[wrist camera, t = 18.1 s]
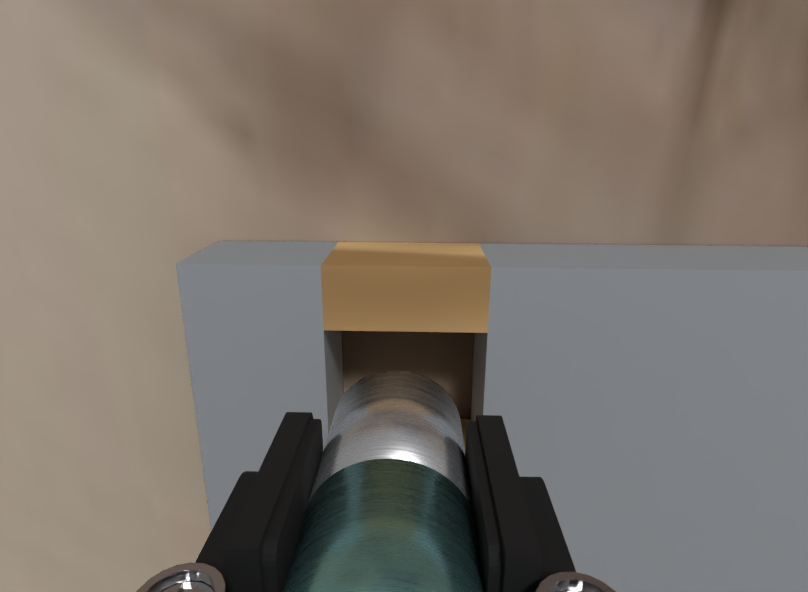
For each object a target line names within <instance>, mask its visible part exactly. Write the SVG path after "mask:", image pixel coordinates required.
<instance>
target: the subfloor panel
mask: <svg viewBox="0 0 808 592" xmlns="http://www.w3.org/2000/svg"><path fill="white" fill-rule="evenodd" d="M176 268H177V276H178V283H179V291H180V298H181V306H182V313H183V321H184V328H185V336H186V343H187V351H188V358H189V366H190V373H191V381H192V388H193V396H194V403H195V411H196V418H197V426H198V433H199V441H200V448H201V456H202V463H203V471H204V478H205V486H206V493H207V501H208V508H209V516H210V523H211V531H212V529H213V527H214V525H215V523H216V521H217V519H218V517H219V516H220V514H221V512H222V510H223V508H224V506H225V504H226V502H227V500H228V498H229V496H230V494H231V492H232V490H233V488H234V486H235V484H236V483H237V481H238V479H239V477H240V475H241V474H242V473H243V472H245V471H259V469H260V467H261V465H262V463H263V460H264V458H265V456H266V454H267V452H268V450H269V448H270V445H271V443H272V441H273V439H274V437H275V435H276V433H277V430H278V428H279V426H280V424H281V422H282V420H283V418H284V416H285V414H286V412H312V414H313V419H321V422H322V437H323V451H324V448H325V444H326V441H327V438H328V434H329V431H330V427H331V424H332V421H333V417H334V414H335V411H336V408H337V405H338V403H339V401H340V399H341V398H342V397H343V395H344V385H343V357H342V331H400V332H466V333H475V338H474V359H473V380H472V401H471V419H460V421H461V427H462V434H463V441H464V448H465V445H466V425H467V422H475V420H476V415H501V416H502V418H503V421H504V425H505V428H506V432H507V435H508V439H509V442H510V446H511V449H512V453H513V456H514V459H515V463H516V466H517V470H518V473H519V477H541V478H542V479H543V481H544V483H545V485H546V488H547V491H548V494H549V496H550V499H551V502H552V505H553V508H554V511H555V513H556V516H557V519H558V522H559V525H560V527H561V530H562V533H563V536H564V539H565V542H566V544H567V547H568V550H569V553H570V556H571V558H572V561H573V564H574V567H575V570H576V572H578V573H582V574H586V575H590V576H592V577H594V578H596V579H598V580H600V581H603V582H604V583H605V584H607V585H608V586H609V587H611V588H612V589H613V590H615V591H616V592H808V247H790V246H688V245H586V244H484V243H382V242H280V241H218V242H216V243H214V244H212V245H210V246H208V247H207V248H205V249H203V250H201V251H199V252H197V253H195V254H193V255H192V256H190V257H188V258H186V259H184V260H182V261H180V262H178V263H177V264H176Z"/></svg>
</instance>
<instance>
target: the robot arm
mask: <svg viewBox="0 0 808 592" xmlns="http://www.w3.org/2000/svg"><path fill="white" fill-rule="evenodd" d="M322 455H323V437H322V422H321V419H313V414H312V412H286V414H285V416H284V418H283V420H282V422H281V424H280V426H279V428H278V430H277V433H276V435H275V437H274V439H273V441H272V443H271V445H270V448H269V450H268V452H267V454H266V456H265V458H264V460H263V463H262V465H261V467H260V469H259V471H245V472H243V473H242V474H241V475H240V477H239V479H238V481H237V483H236V484H235V486H234V488H233V490H232V492H231V494H230V496H229V498H228V500H227V502H226V504H225V506H224V508H223V510H222V512H221V514H220V516H219V517H218V519H217V521H216V523H215V525H214V527H213V529H212V531H211V533H210V535H209V537H208V539H207V541H206V543H205V545H204V547H203V549H202V550H201V552H200V554H199V556H198V558H197V560H196V562H195V563H186V564H180V565H176V566H173V567H171V568H168V569H166V570H163V571H161V572H160V573H158V574H157V575H155V576H154V577H152V578H150V579H149V580H148V581H147V582H146V583H145V584H144V585H143V586H141V587H140V588H139V589H138V590H137V592H282V590H283V587H284V583H285V580H286V576H287V573H288V570H289V566H290V563H291V560H292V556H293V553H294V549H295V546H296V543H297V539H298V536H299V532H300V529H301V526H302V522H303V519H304V515H305V512H306V509H307V505H308V502H309V499H310V495H311V492H312V488H313V485H314V482H315V478H316V475H317V471H318V468H319V465H320V461H321V458H322ZM465 458H466V465H467V472H468V479H469V486H470V493H471V500H472V507H473V514H474V521H475V528H476V535H477V542H478V549H479V556H480V563H481V570H482V577H483V584H484V592H616V591H615V590H613V589H612V588H611V587H609V586H608V585H607V584H605V583H604V582H603V581H600V580H598V579H596V578H594V577H592V576H590V575H586V574H582V573H578V572H576V570H575V567H574V564H573V561H572V558H571V556H570V553H569V550H568V547H567V544H566V542H565V539H564V536H563V533H562V530H561V527H560V525H559V522H558V519H557V516H556V513H555V511H554V508H553V505H552V502H551V499H550V496H549V494H548V491H547V488H546V485H545V483H544V481H543V479H542V478H541V477H519V473H518V470H517V466H516V463H515V459H514V456H513V453H512V449H511V446H510V442H509V439H508V435H507V432H506V428H505V425H504V421H503V418H502V416H501V415H476V420H475V422H467V425H466V445H465Z"/></svg>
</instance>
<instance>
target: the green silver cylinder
mask: <svg viewBox="0 0 808 592" xmlns="http://www.w3.org/2000/svg"><path fill="white" fill-rule="evenodd" d="M282 592H484V584H483V577H482V570H481V563H480V556H479V549H478V542H477V535H476V528H475V521H474V514H473V507H472V500H471V493H470V486H469V479H468V472H467V465H466V458H465V448H464V441H463V434H462V427H461V421H460V415H459V412H458V409H457V407H456V405H455V403H454V401H453V400H452V398H451V397H450V395H449V394H448V393H447V392H446V391H445V390H444V389H443V388H442V387H441V386H439V385H438V384H437V383H435V382H434V381H432V380H431V379H429V378H427V377H424V376H422V375H419V374H416V373H412V372H407V371H385V372H379V373H376V374H372V375H370V376H368V377H365V378H363V379H362V380H360V381H358V382H357V383H355V384H354V385H353V386H352V387H350V388H349V389H348V390H347V392H346V393H345V394H344V395H343V397H342V398H341V399H340V401H339V403H338V405H337V408H336V411H335V414H334V417H333V421H332V424H331V427H330V431H329V434H328V438H327V441H326V444H325V448H324V451H323V455H322V458H321V461H320V465H319V468H318V471H317V475H316V478H315V482H314V485H313V488H312V492H311V495H310V499H309V502H308V505H307V509H306V512H305V515H304V519H303V522H302V526H301V529H300V532H299V536H298V539H297V543H296V546H295V549H294V553H293V556H292V560H291V563H290V566H289V570H288V573H287V576H286V580H285V583H284V587H283V590H282Z"/></svg>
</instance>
